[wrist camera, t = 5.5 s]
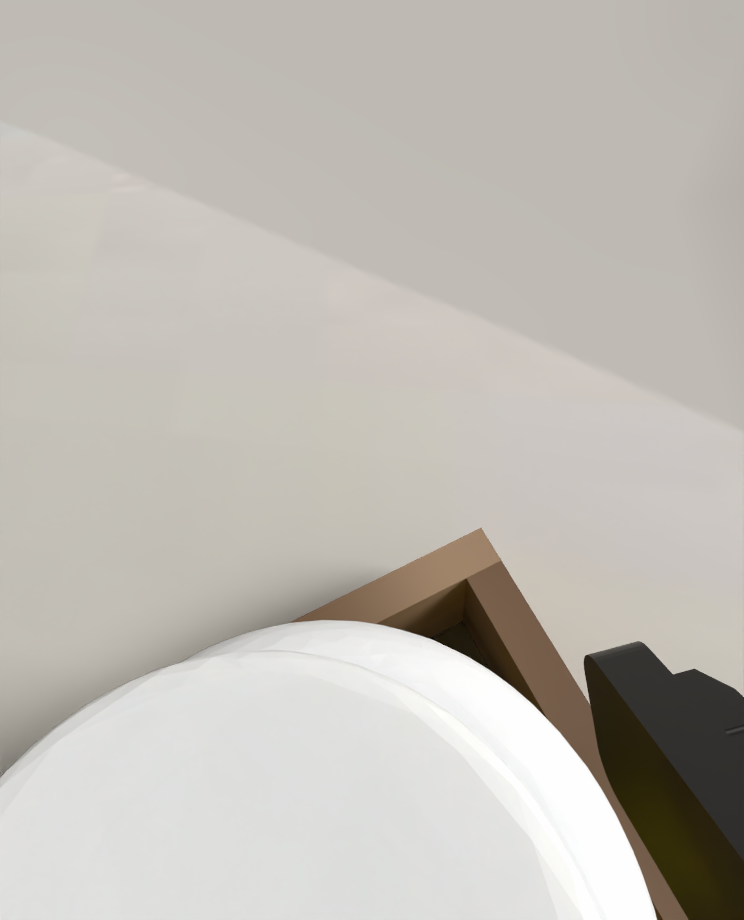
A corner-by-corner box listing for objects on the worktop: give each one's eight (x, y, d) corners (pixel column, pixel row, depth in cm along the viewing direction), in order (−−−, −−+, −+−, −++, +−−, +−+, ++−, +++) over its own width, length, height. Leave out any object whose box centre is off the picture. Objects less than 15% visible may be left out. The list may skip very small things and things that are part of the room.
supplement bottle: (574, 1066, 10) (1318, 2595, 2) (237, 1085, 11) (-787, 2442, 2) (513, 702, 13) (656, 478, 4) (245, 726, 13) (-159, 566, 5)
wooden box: (257, 1327, 9) (185, 1526, 7) (118, 759, 13) (37, 747, 11) (734, 1024, 11) (830, 1096, 8) (475, 578, 14) (480, 527, 12)
